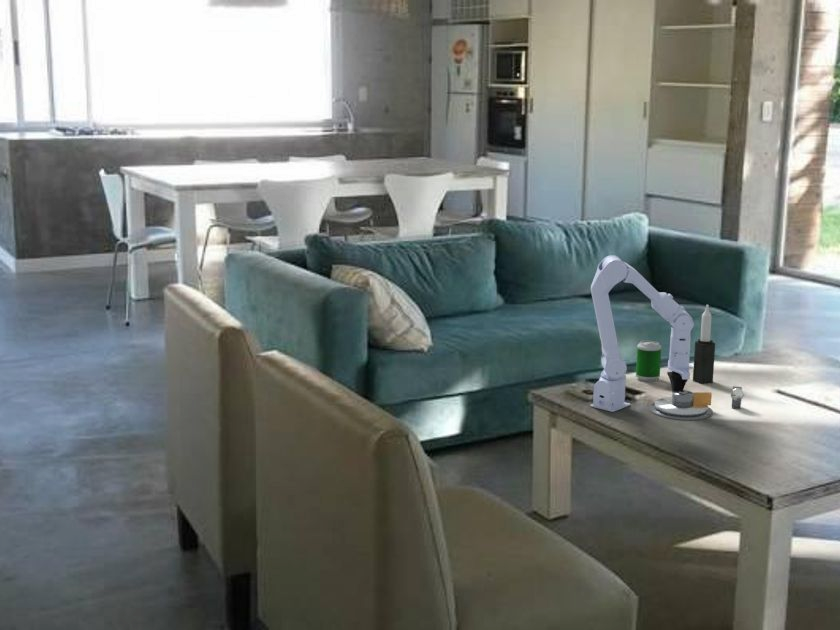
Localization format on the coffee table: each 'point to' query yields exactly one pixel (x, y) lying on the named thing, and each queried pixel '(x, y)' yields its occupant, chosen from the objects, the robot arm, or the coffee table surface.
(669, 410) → the turntable
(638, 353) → the soda can
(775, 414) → the coffee table surface
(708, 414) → the turntable base
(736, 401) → the grey cube on chrome
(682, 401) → the cover
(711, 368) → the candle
